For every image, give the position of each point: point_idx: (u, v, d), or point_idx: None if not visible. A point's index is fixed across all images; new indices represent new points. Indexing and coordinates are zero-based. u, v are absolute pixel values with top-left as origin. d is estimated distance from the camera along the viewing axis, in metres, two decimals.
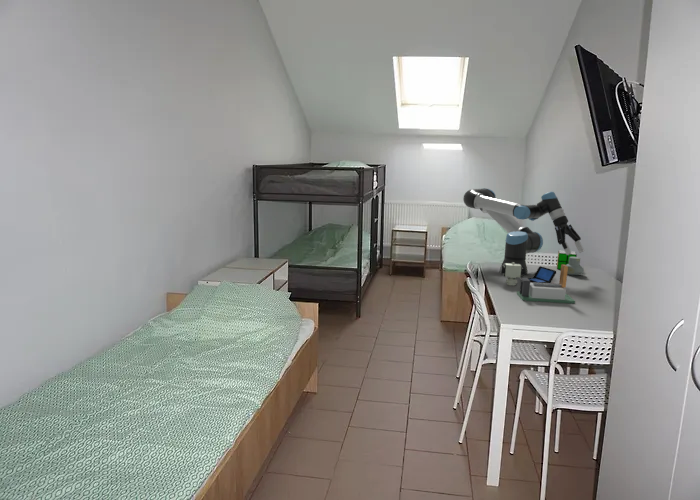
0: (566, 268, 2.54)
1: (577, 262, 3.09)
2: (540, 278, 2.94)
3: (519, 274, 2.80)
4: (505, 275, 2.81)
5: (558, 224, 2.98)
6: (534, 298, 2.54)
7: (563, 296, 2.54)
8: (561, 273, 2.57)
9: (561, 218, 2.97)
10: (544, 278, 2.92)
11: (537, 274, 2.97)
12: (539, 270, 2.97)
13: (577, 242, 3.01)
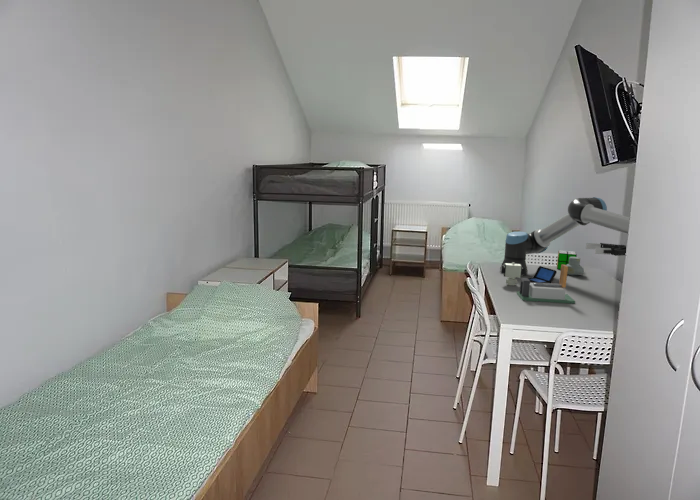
0: (566, 268, 2.54)
1: (577, 262, 3.09)
2: (540, 278, 2.94)
3: (519, 274, 2.80)
4: (505, 275, 2.81)
5: None
6: (534, 298, 2.54)
7: (563, 296, 2.54)
8: (561, 273, 2.57)
9: None
10: (544, 278, 2.92)
11: (537, 274, 2.97)
12: (539, 270, 2.98)
13: (598, 247, 2.59)
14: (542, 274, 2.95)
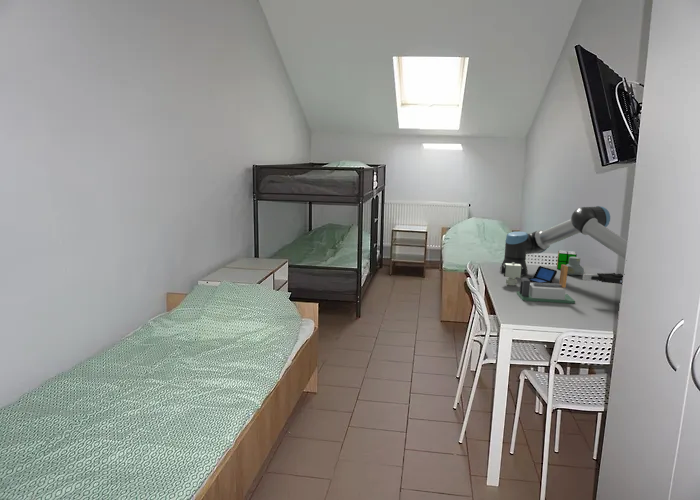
0: (566, 268, 2.54)
1: (577, 262, 3.09)
2: (540, 278, 2.94)
3: (519, 274, 2.80)
4: (505, 275, 2.81)
5: None
6: (534, 298, 2.54)
7: (563, 296, 2.54)
8: (561, 273, 2.57)
9: None
10: (545, 278, 2.92)
11: (537, 274, 2.97)
12: (539, 270, 2.98)
13: None
14: (542, 274, 2.95)
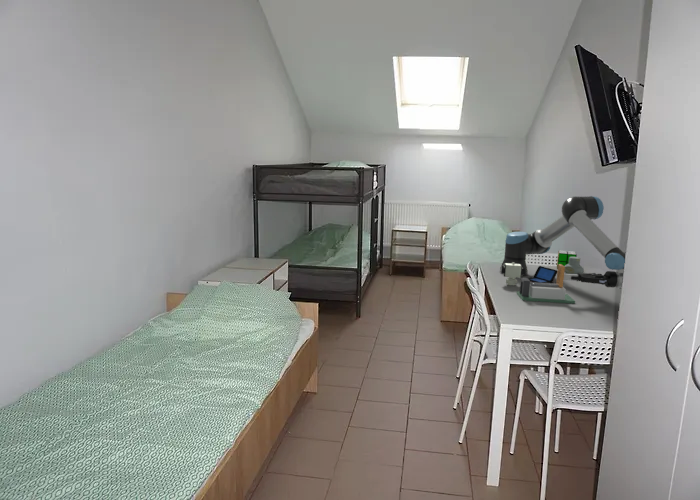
0: (563, 268, 2.54)
1: (577, 262, 3.09)
2: (541, 278, 2.94)
3: (519, 274, 2.80)
4: (505, 275, 2.81)
5: (609, 281, 2.51)
6: (534, 298, 2.54)
7: (563, 296, 2.54)
8: (558, 273, 2.58)
9: (613, 286, 2.52)
10: (545, 278, 2.93)
11: (537, 274, 2.97)
12: (539, 270, 2.98)
13: None
14: (542, 274, 2.95)
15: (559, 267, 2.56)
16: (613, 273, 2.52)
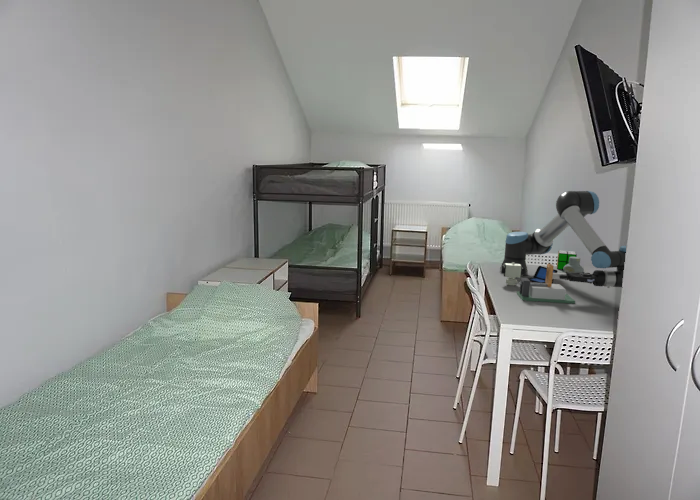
0: (552, 267, 2.54)
1: (577, 262, 3.09)
2: (541, 278, 2.94)
3: (519, 274, 2.80)
4: (505, 275, 2.81)
5: (597, 280, 2.52)
6: (534, 298, 2.54)
7: (563, 296, 2.54)
8: (547, 272, 2.58)
9: (601, 285, 2.53)
10: (545, 278, 2.93)
11: (537, 274, 2.98)
12: (539, 270, 2.98)
13: None
14: (542, 274, 2.95)
15: (548, 266, 2.57)
16: (601, 272, 2.53)
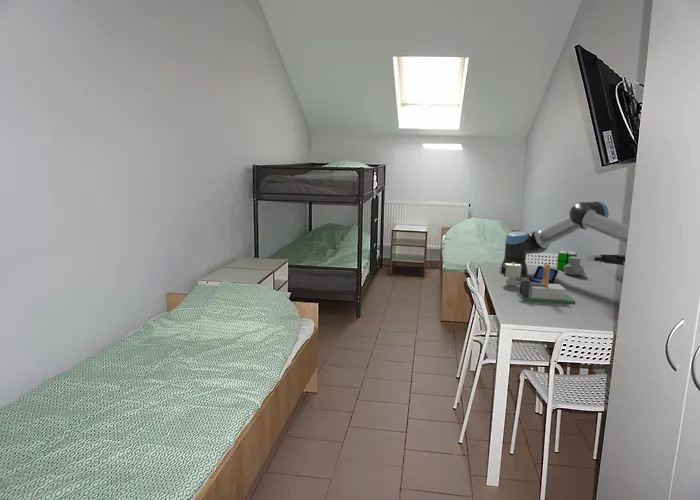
0: (548, 267, 2.54)
1: (577, 262, 3.09)
2: (541, 278, 2.95)
3: (519, 274, 2.80)
4: (505, 275, 2.81)
5: None
6: (534, 298, 2.54)
7: (563, 296, 2.54)
8: (544, 272, 2.58)
9: None
10: None
11: (537, 274, 2.98)
12: (539, 270, 2.98)
13: None
14: None
15: (545, 266, 2.57)
16: None
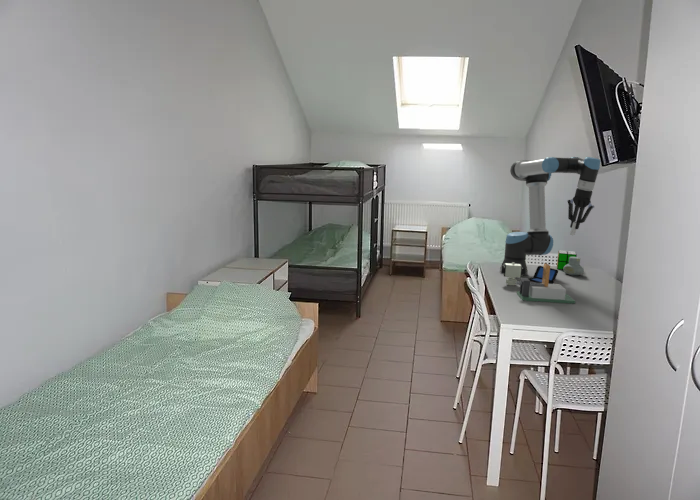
0: (548, 267, 2.54)
1: (577, 262, 3.10)
2: (541, 278, 2.95)
3: (519, 274, 2.80)
4: (505, 275, 2.81)
5: None
6: (534, 298, 2.54)
7: (563, 296, 2.54)
8: (544, 272, 2.58)
9: (576, 190, 2.69)
10: None
11: (537, 274, 2.98)
12: (539, 270, 2.98)
13: None
14: None
15: (545, 266, 2.57)
16: None
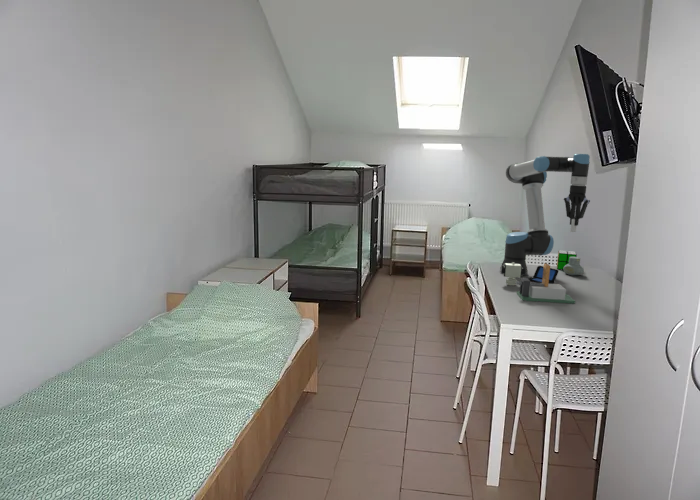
0: (548, 267, 2.54)
1: (577, 262, 3.09)
2: (541, 278, 2.95)
3: (519, 274, 2.80)
4: (505, 275, 2.81)
5: None
6: (534, 298, 2.54)
7: (563, 296, 2.54)
8: (544, 272, 2.58)
9: (570, 187, 2.73)
10: None
11: (537, 274, 2.98)
12: (539, 270, 2.99)
13: None
14: None
15: (545, 266, 2.57)
16: None
